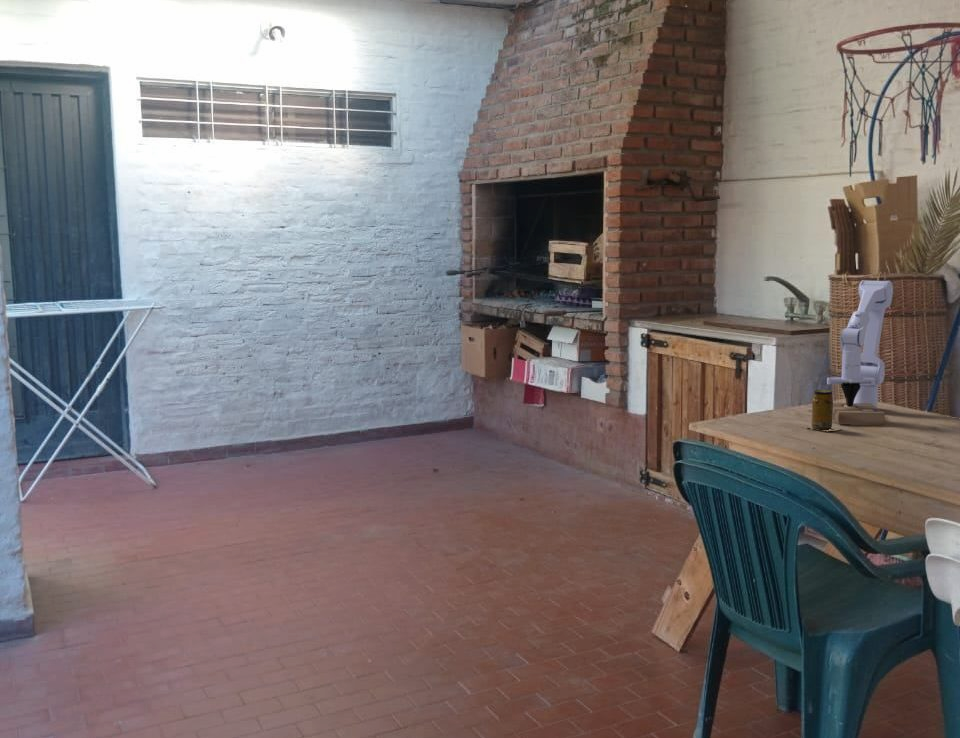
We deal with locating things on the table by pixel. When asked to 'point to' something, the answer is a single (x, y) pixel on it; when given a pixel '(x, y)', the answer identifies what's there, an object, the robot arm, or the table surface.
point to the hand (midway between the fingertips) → (849, 406)
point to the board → (858, 414)
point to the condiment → (822, 410)
